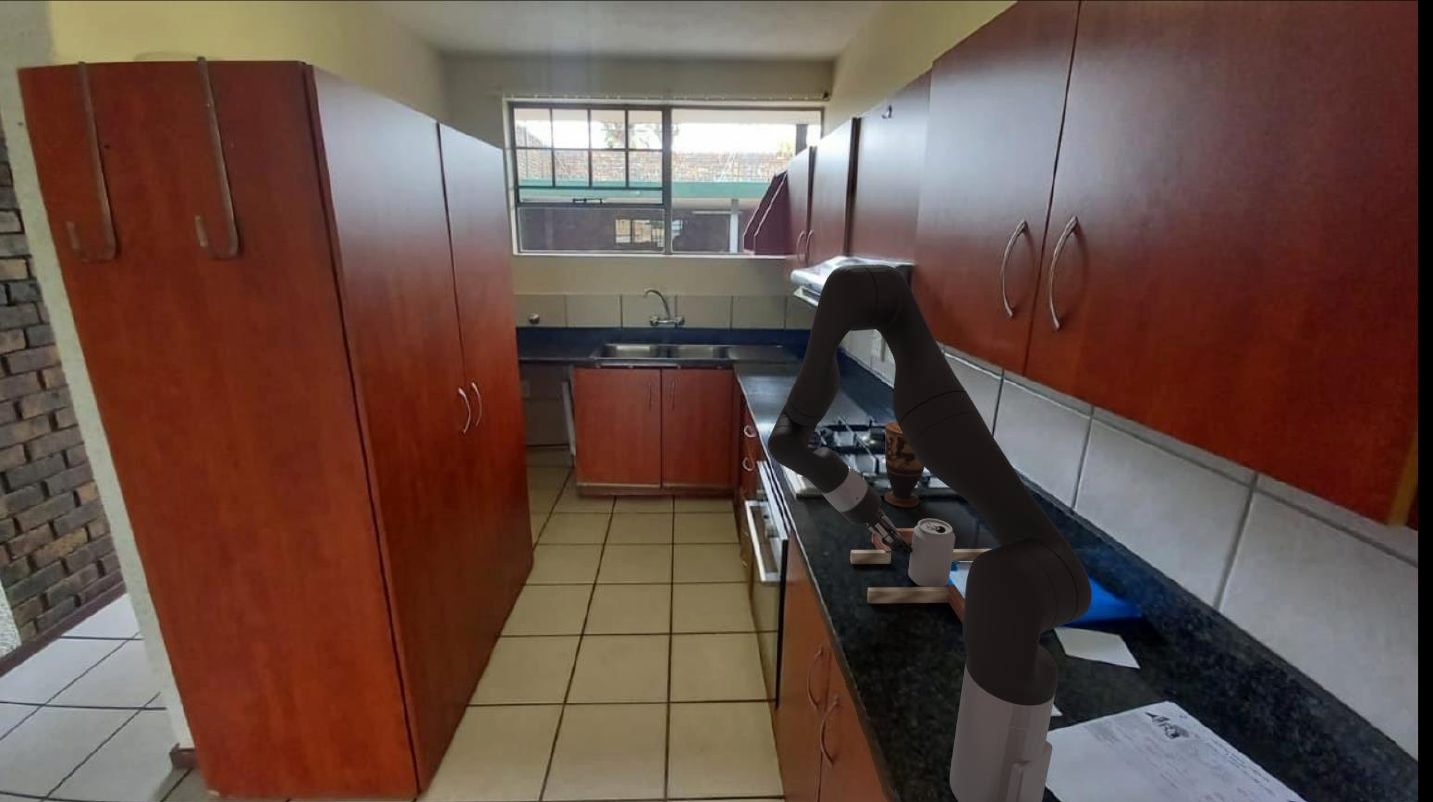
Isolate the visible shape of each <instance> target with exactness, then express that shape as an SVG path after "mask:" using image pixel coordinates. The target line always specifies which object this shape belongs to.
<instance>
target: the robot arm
mask: <svg viewBox="0 0 1433 802" xmlns="http://www.w3.org/2000/svg"><path fill="white" fill-rule="evenodd" d="M872 330H876V332H878V333H879V334H880V335H881V336H882V338H883V340H884V341H885V343H886V344H887V347H888V348H889V349H888V350H889V351H890V353H891V355H892V357H893V361H894V367H895V368H894V369H895V370H894V381H893V388H892V410H893V416H894V417H895V421H897V423H898V425H899V427H900V429H901V431H902V433H903V435H904V437H905V438H906V440H907V442H908V444H909V446H910V448H911V450H912V452H913V453H914V455H915V457H916V458H917V459H918V461H919V462H920V463H921V464H922V465H923V466H924V469H926V470H927V471H928V472H929V473H930V474H932V475H933V477H935V478H937V479H938V480H939V481H940V482H942V484H944V485H945V486H947V487H948V488H949V489H951V490H952V491H953V492H955V493H957V494H958V495H959V496H960V497H961V498H963V500H965V501H967V503H969V504H970V505H971V506H972V507H973V508H974V509H975V510H976V512H978V513H979V515H980V516H981V517H982V518H983V520H984V521H985V523H986V524H987V526H988V527H989V528H990V530H991V532H992V534H993V535H994V537H995V538H996V540H997V542H998V544H999V547H995V548H990V549H991V550H988V551H985V552H983V553H981V554H979V555H978V556H977V557H976V558H975V559H974V561H973V562H972V563H970V565H969V569H968V571H967V572H968V573H967V577H966V582H965V590H964V599H965V603H964V618H963V624H962V639H963V644H964V649H965V652H966V661H965V665H964V673H963V679H962V685H961V686H962V687H961V693H960V701H959V709H958V715H957V721H956V722H957V723H956V728H955V735H954V736H955V737H954V742H953V749H952V757H951V762H950V773H949V786H950V789H951V791H952V794H953V795H954V797H955V799H956V800H957V802H1043V797H1044V793H1045V788H1046V783H1047V779H1048V772H1049V767H1050V763H1051V759H1052V754H1053V753H1052V752H1053V744H1051V743H1050V742H1048V741H1047V737H1048V733H1049V728H1050V722H1051V718H1052V717H1051V716H1052V712H1053V706H1054V702H1055V701H1054V700H1055V698H1056V697H1055V696H1056V692H1057V689H1058V688H1057V687H1058V683H1059V673H1060V672H1059V668H1058V663H1057V662H1056V660H1055V659H1054V657H1053V656H1052V654H1050V652H1049V651H1048V650H1047V649H1046V648H1045V647H1043V646H1042V645H1040V640H1041V639H1040V638H1041V635H1042V633H1045V632H1048V631H1050V630H1053V629H1056V628H1058V627H1062V626H1063V625H1066V624H1069V623H1072V622H1074V621H1076V620H1078V619H1080V618H1082V617H1083V616H1085V615H1086V614H1087V612H1088V611H1089V610H1090V608H1091V607H1090V606H1091V605H1092V600H1093V599H1092V598H1093V597H1092V596H1093V592H1092V590H1093V589H1092V585H1091V582H1090V581H1091V580H1090V578H1089V575H1088V573H1087V571H1086V569H1085V567H1084V565H1083V564H1082V561H1081V560H1080V558H1079V557H1078V555H1077V554H1076V552H1075V551H1074V550H1073V549H1074V548H1072V546H1071V545H1070V544H1069V542H1068V541H1067V540H1066V538H1065V537H1064V535H1063V534H1062V533H1061V532H1060V530H1059V529H1058V528H1057V526H1056V525H1055V524H1054V523H1053V521H1052V520H1051V519H1050V517H1049V516H1048V515H1047V513H1046V512H1045V511H1044V510H1043V508H1042V507H1041V506H1040V504H1039V503H1038V501H1037V500H1036V499H1035V498H1034V496H1033V495H1032V493H1031V491H1029V489H1028V488H1027V487H1026V485H1025V484H1024V482H1023V481H1022V479H1021V478H1020V476H1019V475H1018V473H1017V471H1016V470H1015V468H1014V467H1013V465H1012V464H1011V462H1010V461H1009V459H1008V458H1007V456H1006V454H1005V453H1004V451H1003V450H1002V449H1001V447H1000V445H999V444H998V442H997V440H996V439H995V438H994V435H993V434H992V432H991V430H990V429H989V427H988V425H987V424H986V422H985V420H984V419H983V416H982V414H981V413H980V411H979V409H978V408H977V407H976V404H975V403H974V402H973V399H972V398H971V396H970V395H969V393H968V392H967V390H966V389H965V387H964V386H963V385H962V383H961V382H960V381H959V379H958V377H957V376H956V374H955V372H954V370H953V369H952V367H951V365H950V363H949V361H948V360H947V359H946V356H945V354H944V353H943V351H942V349H941V348H940V346H939V344H938V342H937V341H936V338H935V337H934V335H933V334H932V332H931V330H930V328H929V326H928V323H927V321H926V319H925V317H924V315H923V313H922V310H921V308H920V306H919V304H918V302H917V300H916V297H915V296H914V294H913V290H912V289H911V287H910V285H909V283H908V281H907V279H905V277H904V276H903V274H902V273H901V272H900V271H899V270H898V269H896V268H895V267H893V266H891V265H887V264H880V263H879V264H877V263H875V264H850V265H849V264H848V265H842V266H838V267H836V268H835V269H833V270H832V271H831V273H830V274H829V275H828V276H827V278H826V280H825V282H824V284H823V286H822V288H821V293H820V295H819V299H818V302H817V307H816V310H815V313H814V318H813V321H812V325H811V330H810V335H809V339H808V343H807V346H806V347H807V348H806V351H805V355H804V358H803V362H802V364H801V368H800V369H799V372H798V375H797V377H796V379H795V381H794V383H793V385H792V387H791V389H790V391H789V394H788V396H787V399H786V402H785V405H784V406H783V408H782V410H781V411H780V414H779V415H778V417H777V419H776V422H775V424H774V427H773V428H772V431H771V432H770V435H769V437H768V439H767V449H768V452H769V454H770V455H771V458H773V459H774V461H775V462H777V464H779V465H781V466H783V467H785V468H787V469H788V470H791V471H792V472H794V473H796V474H797V475H799V476H801V477H803V478H805V479H807V480H808V481H809V482H810V483H811V484H812V485H813V486H814V487H815V488H816V489H817V490H818V491H819V492H820V493H821V495H823V496H824V498H825V499H826V500H827V502H829V504H830V505H832V507H834V508H835V509H836V510H837V511H838V512H839V514H841V515H842V516H843V517H844V518H845V519H846V520H847V521H848V522H849V523H850V524H852V525H854V526H861V525H864V524H866V528H867V529H868V530H869V531H870V533H871V534H872V533H875V534H876V535H877V536H878V537H879V538H880V539H881V541H882V543H883V544H885V545H886V546H888V547H890V549H891V550H894V549H895V550H897V551H898V552H899V553H900V554H901V555H902V556H903V557H907V556H908V555H909V556H910V555H911V552H912V551H913V549H912V545H911V544H910V543H907V542H906V541H905V540H904V539H903V538H902V536H901V535H899V533H898V530H897V529H896V528H897V527H895V525H894V523H893V522H892V521H891V519H889V517H888V516H887V515H886V514H885V512H884V511H883V509H882V508H881V506H882V498H881V496H880V494H878V492H877V491H876V490H875V489H874V488H873V487H872V486H871V485H870V484H869V483H868V482H867V481H866V480H865V479H864V478H863V477H862V476H861V475H860V474H859V473H858V472H857V471H855V470H854V469H853V468H851V467H850V466H849V464H847V463H846V462H845V461H844V460H843V459H842V458H841V457H840V456H839V455H838V454H837V453H836V452H835V451H834V450H833V449H831V448H830V447H825V446H821V447H818V448H817V449H815V450H814V451H813V450H811V449H810V448H809V446H810V443H811V441H812V438H813V436H814V433H815V431H816V428H817V427H818V424H819V423H820V422H822V420H823V419H824V417H825V416H826V414H827V412H828V410H829V409H830V408H831V406H832V404H833V402H834V400H835V399H836V396H837V394H838V391H839V388H840V383H841V373H840V369H839V364H838V360H837V359H838V358H837V351H838V348H839V346H840V345H841V343H842V341H843V339H844V338H845V337H846V336H847V334H848V333H849V332H856V331H857V332H858V331H859V332H860V331H872Z"/></svg>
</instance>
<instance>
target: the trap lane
mask: <svg viewBox="0 0 1433 802" xmlns="http://www.w3.org/2000/svg"><path fill="white" fill-rule="evenodd" d="M895 528H896V529H897V530H898V533H899V535H901V536H902V538H903V539H904V540H905V541H906V542H907V543H908V544H912V539H913V531H914V528H915V527H914V528H913V527H911V528H906V527H905V528H903V527H902V528H901V527H900V528H899V527H898V528H897V527H895ZM871 543H872V544H873V545H874V546H875V549H851V550H850V556H849V557H850V558H849V559H850V561H849V562H850V563H851V565H877V564H879V565H883V564H886V565H888V564H890V565H891V562H892V561H891V559H892V548H890V547H888V546H886V545H885V544H883V543H882V541H881V539H880V538H879V537H878V536H877V535H876V534H875V533H872V532H871ZM991 549H992V548H954V550H953V556H952V562H957V561H974V559H975V558H976V557H977V556H978V555H979V554H981V553H983V552H985V551H988V550H991ZM866 600H867V603H868V604H928V603H929V604H931V603H932V604H935V603H936V604H937V603H938V604H939V603H940V604H942V603H946V604H947V603H948V604H949V605H950V606H951V608H952V610H953V612H954V613H955V614H956V616H957V617H958V619H959V620H960V622H961V624H962V625H963V618H964V603H965V596H963V594H962V593H961V592H960V591H959V589H958V588H957V586H956V584H954V583H953V584H952V583H951V584H949V583H948V584H947V586H944V587H921V586H909V587H908V586H907V587H906V586H903V587H902V586H898V587H893V586H892V587H890V586H889V587H867V593H866Z"/></svg>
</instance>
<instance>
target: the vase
mask: <svg viewBox="0 0 1433 802" xmlns="http://www.w3.org/2000/svg"><path fill="white" fill-rule="evenodd" d="M884 427H885V429H884V431H885V439H884V440H885V442H884V443H885V444H884V445H885V448H884V449H885V452H884V453H885V454H884V459H885V460H884V461H885V469H886V474H887V475H886V476H887V477H888V478H887V479H888V482H889V483H890V486H891V490H893V491H891V492H888V491H886V493H885V494H884V500H885V501H886V502H887V503H889V505H892V506H895V507H900V508H906V509H908V508H913V507H916V506H918V505H919V504H920V498H919V496H918V495H917V493H915V492H913V491H914V489H915V488H916V486H917V485H918V483H919V482H920V480H921V478H922V475H923V472H924V469H925V467H924V466H923V465H922V464H921V463H920V462H919V461H918V459H917V458H916V457H915V455H914V453H913V452H912V450H911V448H910V446H909V444H908V442H907V440H906V438H905V437H904V435H903V433H902V431H901V429H900V427H899V425H898V423H897V421H896V420H895V421H890V422H887V423H886V424H885V426H884Z"/></svg>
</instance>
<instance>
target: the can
mask: <svg viewBox="0 0 1433 802" xmlns="http://www.w3.org/2000/svg"><path fill="white" fill-rule="evenodd" d="M953 531H954V529H953V527H952V526H951V524H949V523H948V522H946V521H943V520H942V519H941V520H940V519H938V518H922V519H921V520H918V522H917V525H915V527H914V531H913V539H912V543H911V547H912V549H913V551H912V552H911V553H910V554H909V556H910V557H909V565H908V571H907V573H908V577H909V578H910V579H911V580H912V581H913V582H914V583H915V584H916V585H917V586H918V587H946V586H948V584H949V582H950V577H951V576H950V575H951V569H952V564H953V563H952V556H953V550H954V549H955V544H956V543H955V542H956V536H955V535H956V534H955V533H954V532H953Z"/></svg>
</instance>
